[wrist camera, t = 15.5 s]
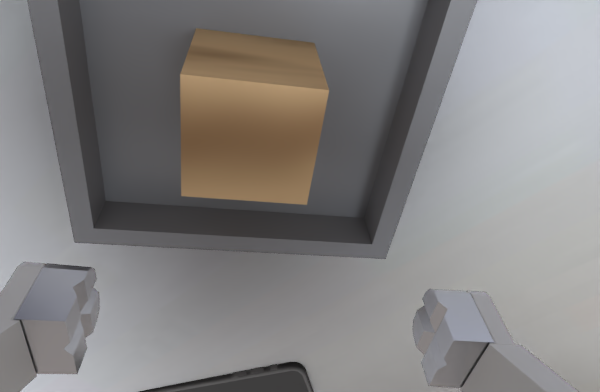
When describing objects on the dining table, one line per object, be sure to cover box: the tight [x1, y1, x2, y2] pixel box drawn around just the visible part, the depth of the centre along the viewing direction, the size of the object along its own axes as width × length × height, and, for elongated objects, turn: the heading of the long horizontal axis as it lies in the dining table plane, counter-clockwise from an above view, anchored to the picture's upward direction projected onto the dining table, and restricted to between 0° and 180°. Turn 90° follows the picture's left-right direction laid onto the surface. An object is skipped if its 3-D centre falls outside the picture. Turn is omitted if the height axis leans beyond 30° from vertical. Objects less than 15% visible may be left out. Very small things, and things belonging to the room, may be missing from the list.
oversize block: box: [180, 28, 329, 205], centre depth 19 cm, size 5×5×5 cm
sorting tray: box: [27, 0, 477, 259], centre depth 20 cm, size 16×16×3 cm
